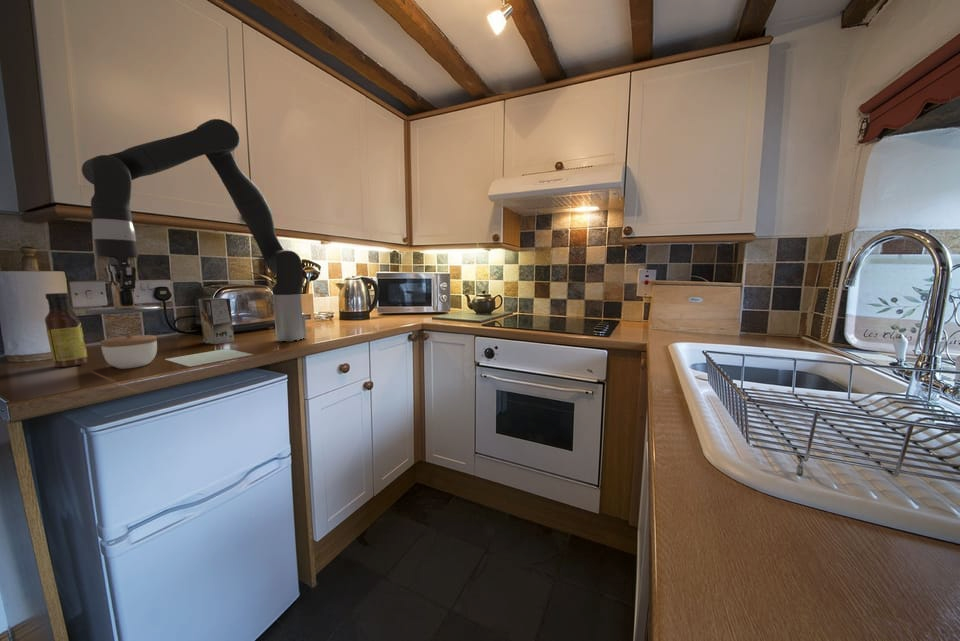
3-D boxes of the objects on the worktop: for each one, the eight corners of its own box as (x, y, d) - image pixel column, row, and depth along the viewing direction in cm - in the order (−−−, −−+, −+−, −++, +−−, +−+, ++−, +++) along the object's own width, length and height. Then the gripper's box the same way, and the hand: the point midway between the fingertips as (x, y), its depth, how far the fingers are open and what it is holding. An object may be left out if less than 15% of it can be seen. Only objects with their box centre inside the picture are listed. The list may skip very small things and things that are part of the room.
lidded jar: (95, 369, 91) (89, 334, 90) (146, 360, 101) (142, 328, 100) (117, 374, 87) (112, 337, 86) (168, 363, 97) (164, 330, 96)
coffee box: (235, 341, 128) (231, 298, 126) (215, 345, 122) (210, 299, 120) (221, 339, 132) (217, 297, 130) (202, 342, 127) (197, 298, 124)
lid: (149, 307, 102) (146, 284, 101) (169, 310, 95) (166, 284, 94) (78, 312, 90) (74, 285, 89) (95, 315, 83) (91, 286, 82)
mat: (226, 349, 114) (226, 348, 114) (253, 355, 107) (253, 354, 106) (164, 360, 101) (164, 359, 101) (189, 368, 93) (189, 366, 93)
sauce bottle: (95, 362, 99) (84, 292, 96) (67, 368, 92) (54, 293, 90) (74, 361, 99) (63, 292, 97) (45, 367, 93) (32, 293, 90)
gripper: (145, 238, 89) (154, 305, 92) (125, 241, 96) (134, 303, 99) (103, 236, 83) (114, 308, 85) (86, 239, 90) (95, 305, 92)
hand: (124, 305), depth 92 cm, fingers closed on lid, 3 cm apart
